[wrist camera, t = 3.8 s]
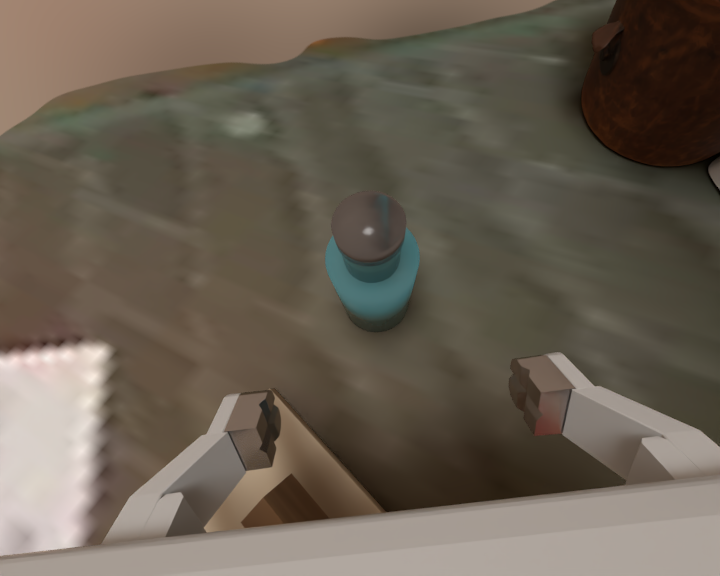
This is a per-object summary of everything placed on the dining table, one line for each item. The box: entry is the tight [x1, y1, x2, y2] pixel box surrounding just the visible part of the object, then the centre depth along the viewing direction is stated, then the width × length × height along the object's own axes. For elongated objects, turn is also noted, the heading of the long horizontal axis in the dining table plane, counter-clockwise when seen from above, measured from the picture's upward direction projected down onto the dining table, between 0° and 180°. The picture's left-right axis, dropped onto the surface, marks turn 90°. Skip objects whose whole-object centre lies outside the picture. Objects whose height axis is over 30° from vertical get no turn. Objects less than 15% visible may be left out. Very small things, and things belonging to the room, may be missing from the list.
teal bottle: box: [325, 191, 420, 332], centre depth 19 cm, size 5×5×12 cm
